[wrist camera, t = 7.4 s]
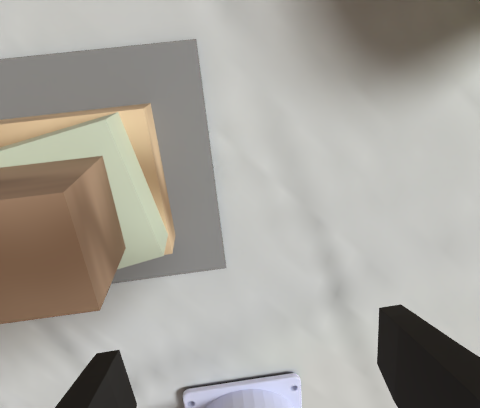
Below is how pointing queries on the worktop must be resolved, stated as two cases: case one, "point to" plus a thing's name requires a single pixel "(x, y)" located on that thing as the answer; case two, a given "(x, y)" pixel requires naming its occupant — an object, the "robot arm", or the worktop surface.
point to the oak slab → (140, 136)
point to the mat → (166, 124)
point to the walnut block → (56, 239)
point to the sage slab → (119, 174)
